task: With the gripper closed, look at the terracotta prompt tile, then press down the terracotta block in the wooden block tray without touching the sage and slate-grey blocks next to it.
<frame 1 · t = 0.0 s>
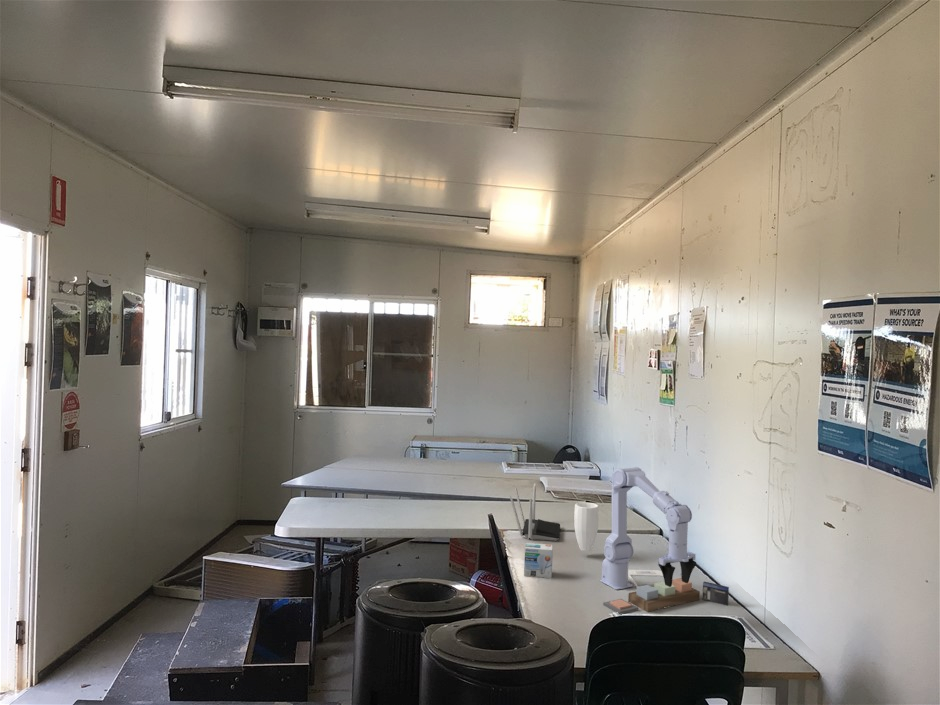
hand: (676, 583, 201), 10 cm above the table, tool pointing down, fingers open, 7 cm apart
prompt tile: (620, 607, 205), on the table
block sage: (664, 590, 212), point 3 cm above the table, slide at 0.0 cm
cup: (585, 556, 256), on the table
light bulb box: (538, 574, 234), on the table
wireless router: (535, 533, 287), on the table
wooden block tray: (664, 600, 212), on the table
mini dv tape: (715, 602, 212), on the table
block terracotta: (681, 587, 216), point 3 cm above the table, slide at 0.0 cm
block slate: (647, 594, 208), point 4 cm above the table, slide at 0.0 cm
photo frame: (649, 581, 232), on the table
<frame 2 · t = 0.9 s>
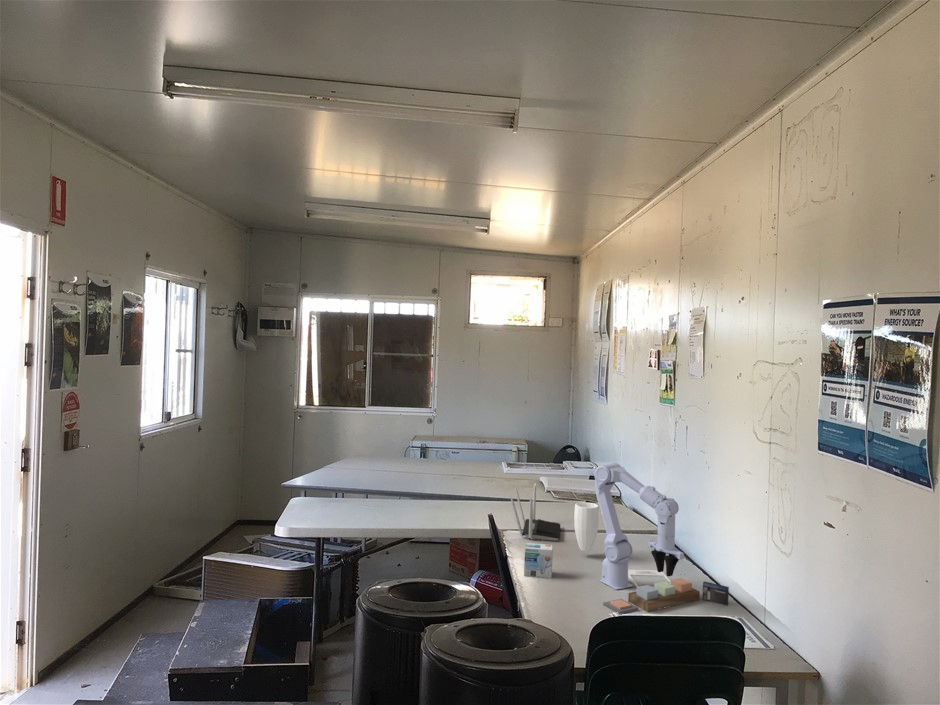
hand: (664, 573, 212), 9 cm above the table, tool pointing down, fingers open, 4 cm apart
nothing on the table moved.
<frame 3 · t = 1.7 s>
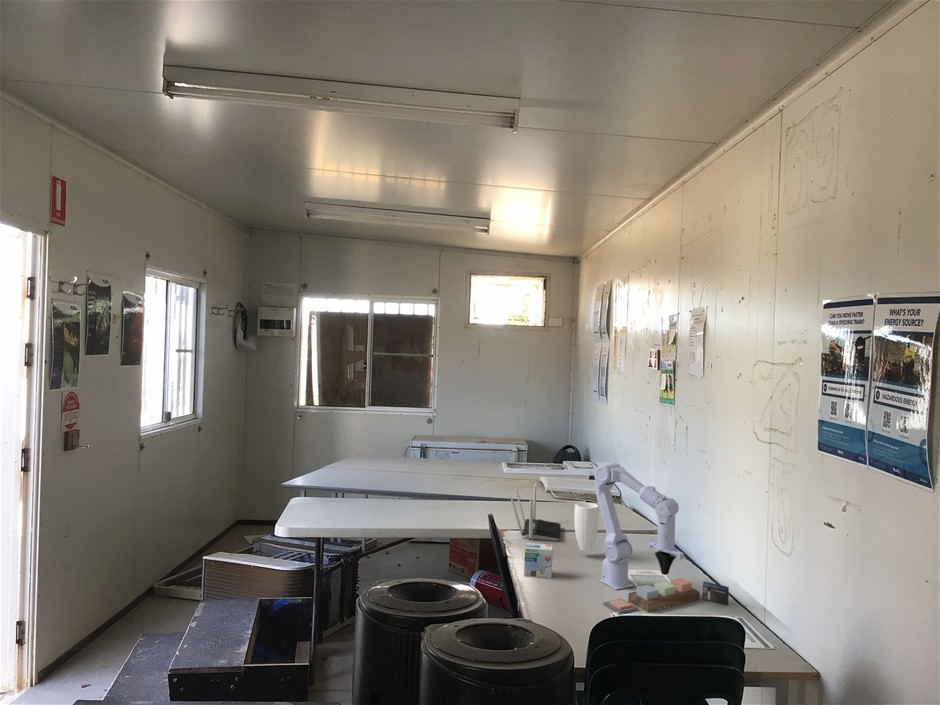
hand: (664, 573, 212), 9 cm above the table, tool pointing down, fingers closed
nothing on the table moved.
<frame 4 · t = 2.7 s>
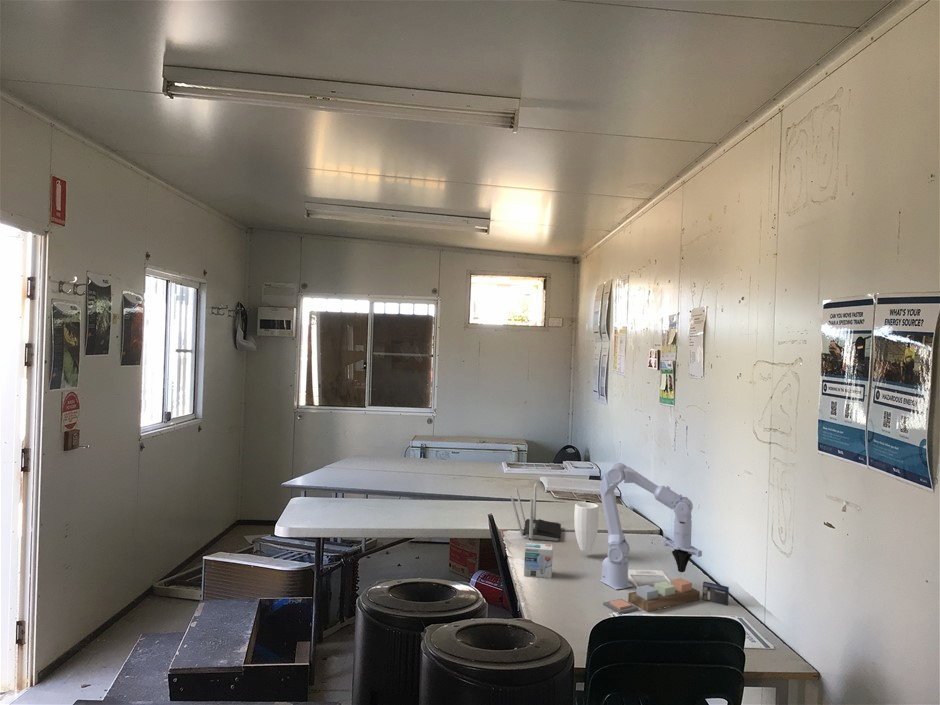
hand: (681, 571, 216), 9 cm above the table, tool pointing down, fingers closed
nothing on the table moved.
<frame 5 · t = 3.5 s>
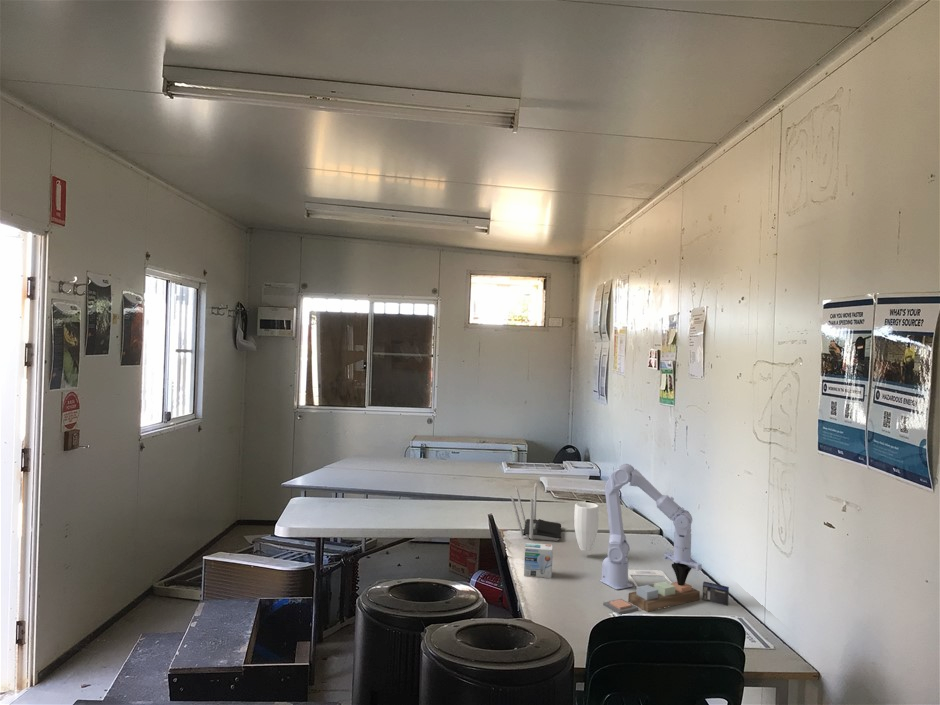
hand: (681, 584, 216), 4 cm above the table, tool pointing down, fingers closed, pressing on block terracotta
block terracotta: (681, 590, 216), point 2 cm above the table, slide at 1.1 cm, touching gripper
everything else where it was.
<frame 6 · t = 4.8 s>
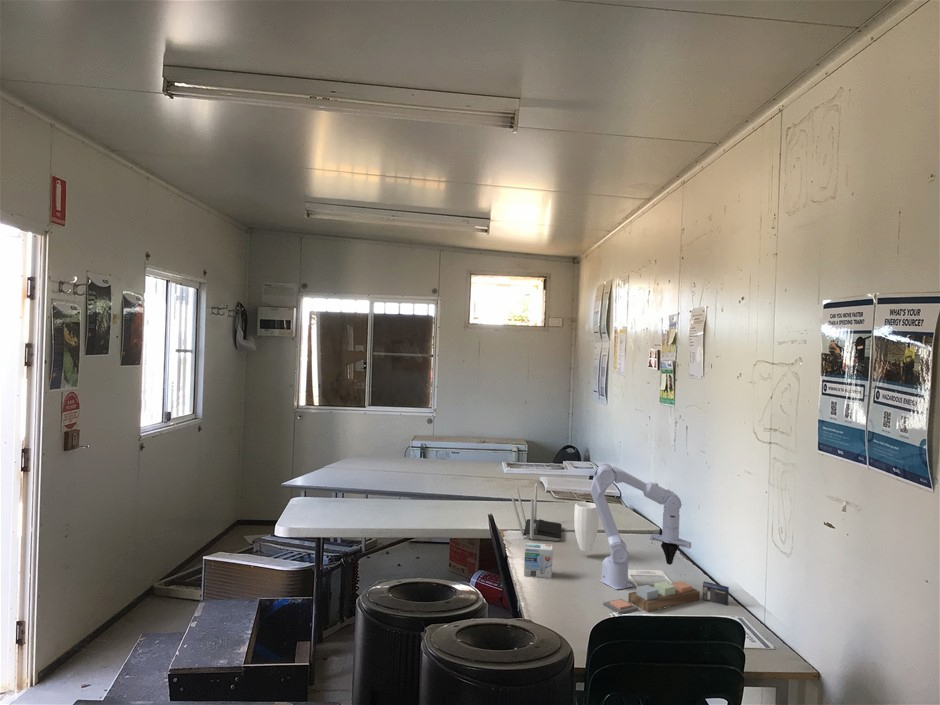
hand: (669, 563, 222), 9 cm above the table, tool pointing down, fingers closed
block terracotta: (681, 590, 216), point 2 cm above the table, slide at 1.1 cm
everything else where it was.
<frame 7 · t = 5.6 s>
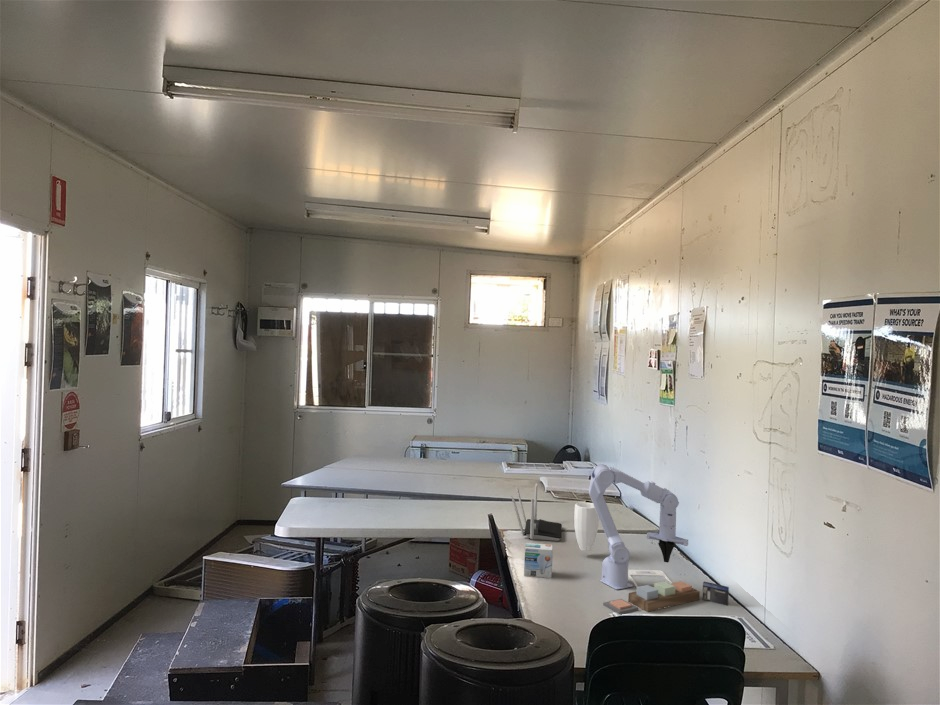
hand: (666, 561, 224), 9 cm above the table, tool pointing down, fingers closed
nothing on the table moved.
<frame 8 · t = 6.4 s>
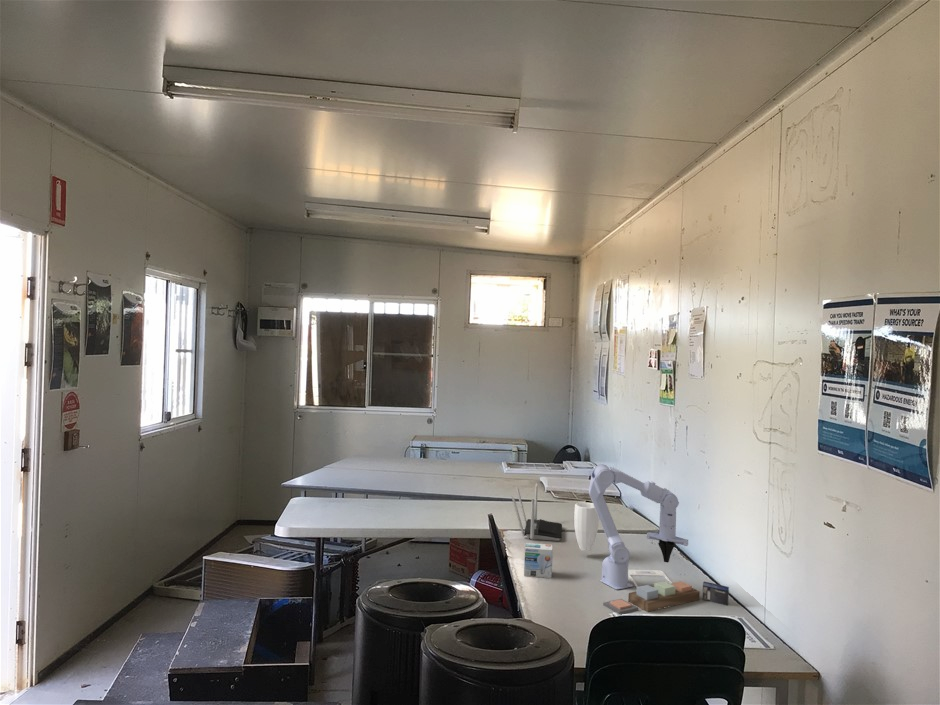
hand: (666, 561, 224), 9 cm above the table, tool pointing down, fingers closed
nothing on the table moved.
at the end: block terracotta slide at 1.1 cm; block sage slide at 0.0 cm; block slate slide at 0.0 cm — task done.
